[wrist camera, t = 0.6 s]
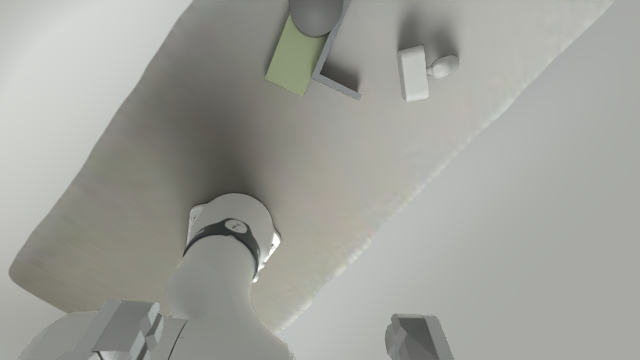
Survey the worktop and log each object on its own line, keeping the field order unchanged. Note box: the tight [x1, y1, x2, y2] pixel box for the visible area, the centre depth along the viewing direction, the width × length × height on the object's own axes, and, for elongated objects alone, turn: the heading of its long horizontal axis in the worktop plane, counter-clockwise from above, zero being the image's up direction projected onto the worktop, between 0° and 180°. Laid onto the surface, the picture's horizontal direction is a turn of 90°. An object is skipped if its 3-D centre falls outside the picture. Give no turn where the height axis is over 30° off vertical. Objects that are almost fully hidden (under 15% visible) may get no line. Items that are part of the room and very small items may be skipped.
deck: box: [265, 0, 362, 100], centre depth 48 cm, size 26×16×6 cm, turn 156°
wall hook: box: [397, 45, 459, 102], centre depth 50 cm, size 8×10×10 cm
